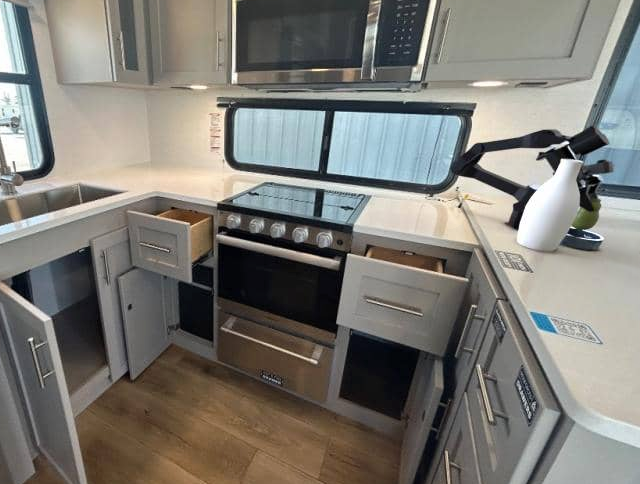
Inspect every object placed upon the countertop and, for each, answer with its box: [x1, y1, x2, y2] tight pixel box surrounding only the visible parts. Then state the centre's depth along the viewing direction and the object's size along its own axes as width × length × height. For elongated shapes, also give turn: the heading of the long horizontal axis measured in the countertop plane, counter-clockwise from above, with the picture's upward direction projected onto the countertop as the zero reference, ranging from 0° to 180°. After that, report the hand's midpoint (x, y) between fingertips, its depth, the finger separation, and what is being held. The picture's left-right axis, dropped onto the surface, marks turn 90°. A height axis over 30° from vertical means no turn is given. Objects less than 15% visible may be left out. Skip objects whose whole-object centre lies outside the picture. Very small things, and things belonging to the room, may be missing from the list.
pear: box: [571, 198, 602, 231], centre depth 98 cm, size 6×5×10 cm
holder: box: [559, 226, 605, 251], centre depth 101 cm, size 11×11×4 cm
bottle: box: [516, 159, 585, 253], centre depth 94 cm, size 11×11×25 cm
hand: (595, 210), depth 96 cm, fingers closed on pear, 4 cm apart
